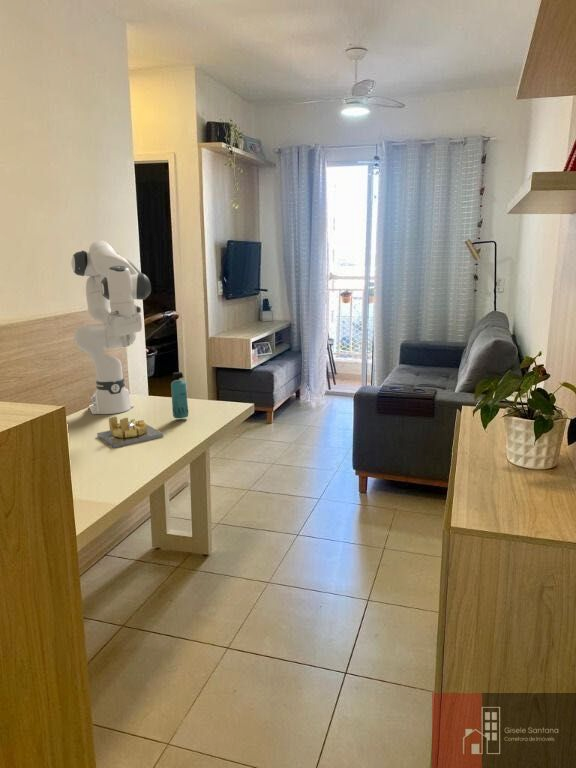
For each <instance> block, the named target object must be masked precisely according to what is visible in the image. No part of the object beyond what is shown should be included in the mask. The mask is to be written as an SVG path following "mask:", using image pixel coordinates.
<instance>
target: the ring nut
mask: <svg viewBox="0 0 576 768" xmlns="http://www.w3.org/2000/svg"><path fill="white" fill-rule="evenodd" d="M129 422H133V423H136V425H134V426H133V428H132V429H129ZM108 423H109V430H111V431H112V435H113V436H114V437H120V438H124V437H125V438H127V437H135V436H137V435H138V436H139V435H142V434H144V433H146V432H147V426H146V424H147V423H146V422H145V420H144V419H140V420H137V421H136V419H135V418H132V419H131V420H130V421H129V417H124V418H121V419H119V423H118V417H117V416H112V417H110V418H108Z"/></svg>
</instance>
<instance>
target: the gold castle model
mask: <svg viewBox="0 0 576 768" xmlns="http://www.w3.org/2000/svg"><path fill="white" fill-rule="evenodd" d="M128 422H129V429H132V428H133V426H134V425H136V423H133V422H131V421H128ZM146 426H147V432H146V433H144V434H142V435H139V436H138V435H137V436H135V437H127V438H125V437H124V438H120V437H114V436H113V435H112V431H111V430H110V429H109V430H105V431H100V432H97V433H96V436H97V437H96V438H98V439H100V440H101V441H103V442H104V443H105V444H107V445H108V446H110V448H113V449H118V448H120V447H126V446H131V445H134V444H139V443H143V442H144V443H145V442H148V441H151V440H152V441H153V440H157V439H161V438H164V433H163V432H161V431H160V430H158V429H157V428H154V427H153V426H150V425H148V424H147V423H146Z"/></svg>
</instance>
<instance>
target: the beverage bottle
mask: <svg viewBox="0 0 576 768" xmlns="http://www.w3.org/2000/svg"><path fill="white" fill-rule="evenodd" d="M183 378H184V374H183V372H182V371H181V372H180V371H177V372H173V373H172V379H175V380H173V381H172V382H171V383H170V387H171V388H170V389H171V407H172V417H173V418H174V419H185V418H187V417H189V415H190V414H189V407H188V406H189V405H188V391H187V382H186V381H185V380H184V379H183Z"/></svg>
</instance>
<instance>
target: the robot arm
mask: <svg viewBox="0 0 576 768" xmlns="http://www.w3.org/2000/svg"><path fill="white" fill-rule="evenodd" d="M70 264H71V268H72V271H73V273H74V274H75V275H77V276H81V277H84V276H85V277H88V278H87V279H86V283H85V297H86V303H87V312H88V314H89V316H90V317H91V318H93V319H94V320H96V321H98V322H100V323H97V324H95V323H94V324H86V325H82V326H79V327H77V328H76V330H75V331H74V334H73V340H74V343H75V346H76V347H77V348H78V349H79V350H82V351H83V352H85V353H86V354H87V355H88V356H89V358H91V360H92V361H93V365H94V368H95V375H96V382H95V386H96V387H95V388H96V390H95V392H94V393H93V395H92V396H91V397H90V402H91V403H92V404H89V406H88V408H89V410H90V412H91V414H92V415H113V414H118V413H119V414H121V413H124V412H127V411H129V410H130V409H132V408H134V407H135V404H134V403H131V397H130V396H131V395H130V391H129V389H128V388H126V381H125V378H124V375H123V374H124V373H123V367H122V365H123V364H122V362H121V360H120V358H118V357H115V356H114V355H111V354H108V353H107V352H106V350H107V349H117V348H118V349H119V348H129V347H130V346H131V345H133V344H135V343H134V342H135V341H136V337H137V333H138V332H139V333H140V332H141V331H142V329H143V328H142V327H143V326H142V325H143V324H142V321H143V320H142V316H141V315H142V314H141V313H142V308H141V306H139V305H137V304H135V300H139V301H140V300H143V301H144V300H146V299H147V298H148V297H149V296H150V294H151V292H152V285H151V281H150V279H149V277H148V276H147V275H146V274H144V273H142V272H141V271H140V270H139V269H138V268H137V266H136V265H134V264H133V263H132V262H131V261H130V260H128V259H127V258H125V257H123V256H122V255H121V254H120V253H117V252H116V250H115V249H114V248H113V246H111V244H109V243H108V242H107V241H105V240H102V239H101V240H96V241H94V242H92V243H91V244H90V245H89V250H88V251H87V250H86V251H85V250H80V251H77V252H75V253H74V254H72V258H71V262H70Z"/></svg>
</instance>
